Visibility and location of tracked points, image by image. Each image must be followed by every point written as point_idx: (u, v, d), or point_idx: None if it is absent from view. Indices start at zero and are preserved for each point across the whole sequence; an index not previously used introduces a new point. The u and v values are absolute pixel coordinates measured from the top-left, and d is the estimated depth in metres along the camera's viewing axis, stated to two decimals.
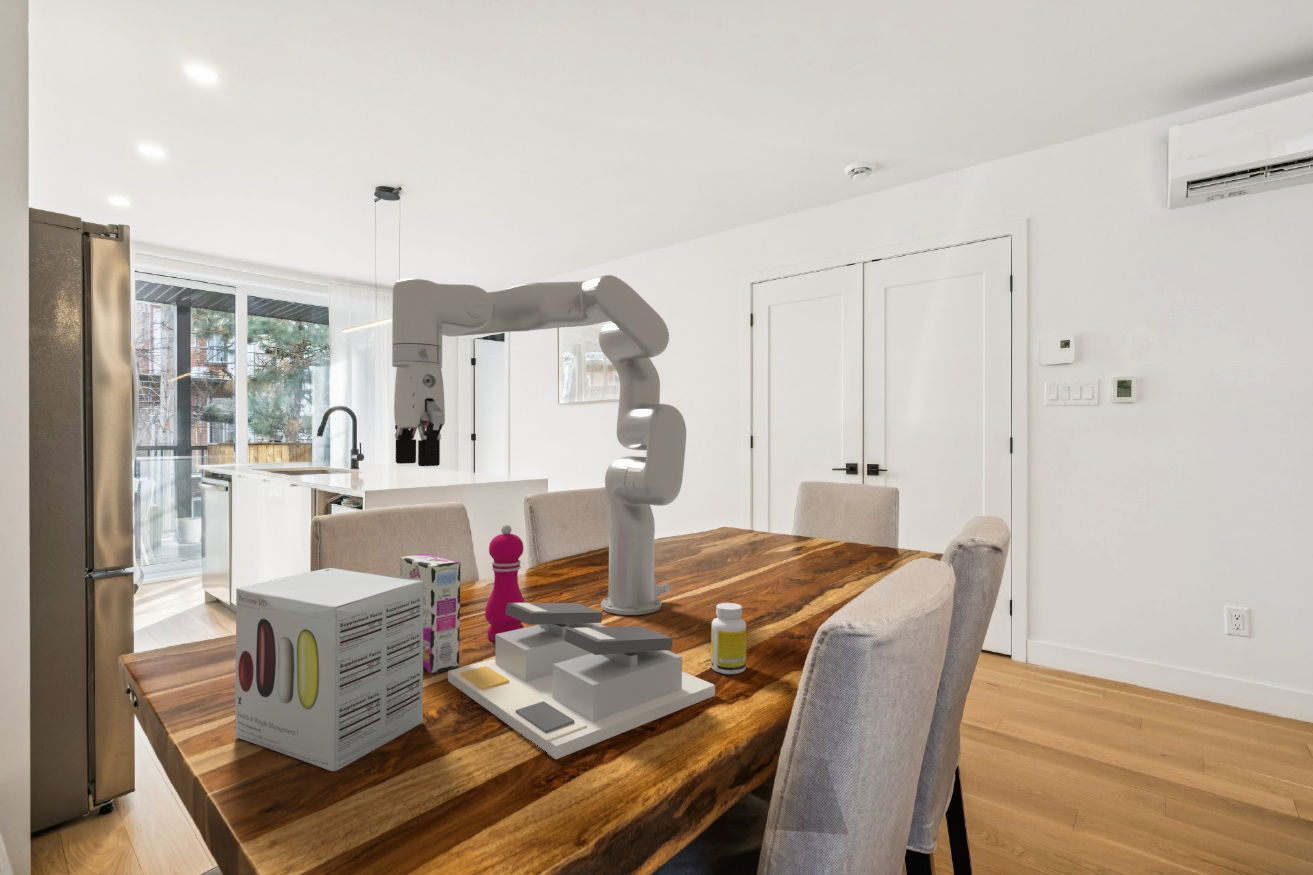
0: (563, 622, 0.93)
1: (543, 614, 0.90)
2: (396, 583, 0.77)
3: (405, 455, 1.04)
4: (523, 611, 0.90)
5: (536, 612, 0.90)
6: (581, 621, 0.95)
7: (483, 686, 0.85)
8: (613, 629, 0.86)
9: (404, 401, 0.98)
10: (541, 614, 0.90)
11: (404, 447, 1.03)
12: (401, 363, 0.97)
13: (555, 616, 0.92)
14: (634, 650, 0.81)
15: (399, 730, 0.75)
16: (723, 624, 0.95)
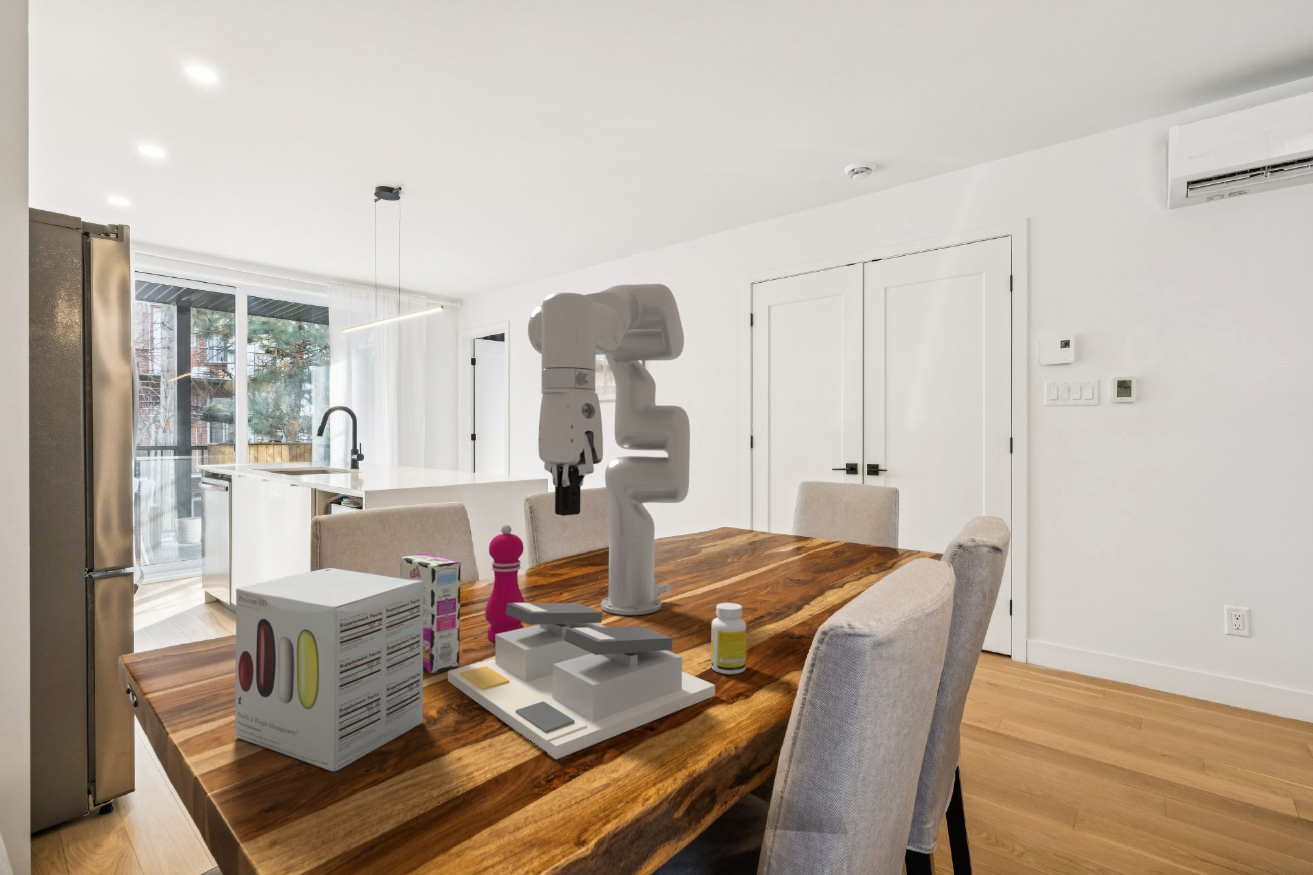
0: (563, 622, 0.93)
1: (543, 614, 0.90)
2: (396, 583, 0.77)
3: None
4: (523, 611, 0.90)
5: (536, 612, 0.90)
6: (581, 621, 0.95)
7: (483, 686, 0.85)
8: (613, 629, 0.86)
9: (557, 434, 0.85)
10: (541, 614, 0.90)
11: None
12: (556, 390, 0.84)
13: (555, 616, 0.92)
14: (634, 650, 0.81)
15: (399, 730, 0.75)
16: (722, 624, 0.95)
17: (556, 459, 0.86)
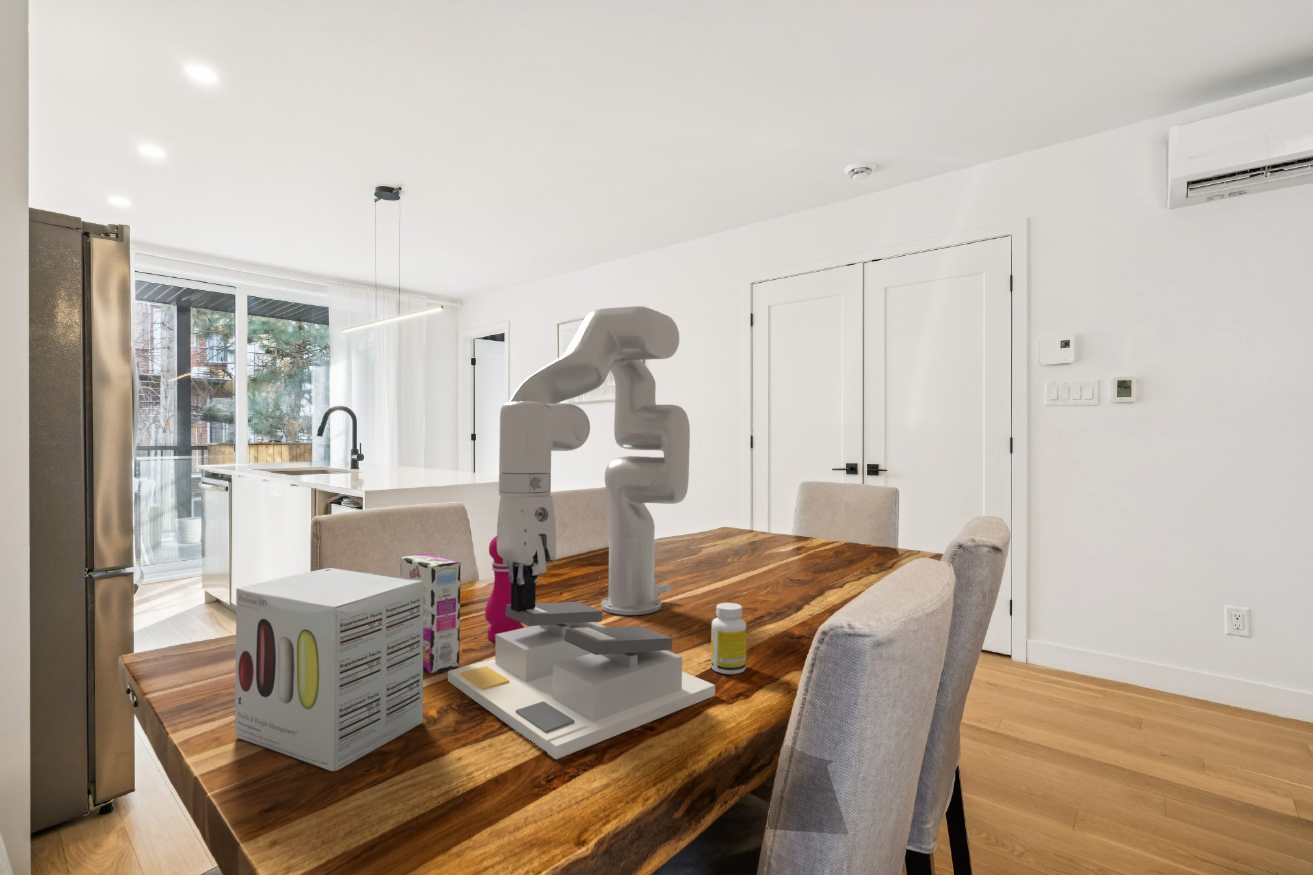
0: (563, 622, 0.93)
1: (543, 615, 0.90)
2: (396, 583, 0.77)
3: None
4: (523, 612, 0.90)
5: (536, 613, 0.90)
6: (581, 620, 0.95)
7: (483, 686, 0.85)
8: (613, 629, 0.86)
9: (512, 535, 0.90)
10: (541, 615, 0.90)
11: None
12: (511, 495, 0.89)
13: (555, 616, 0.92)
14: (634, 650, 0.81)
15: (399, 730, 0.75)
16: (723, 624, 0.95)
17: (512, 558, 0.90)
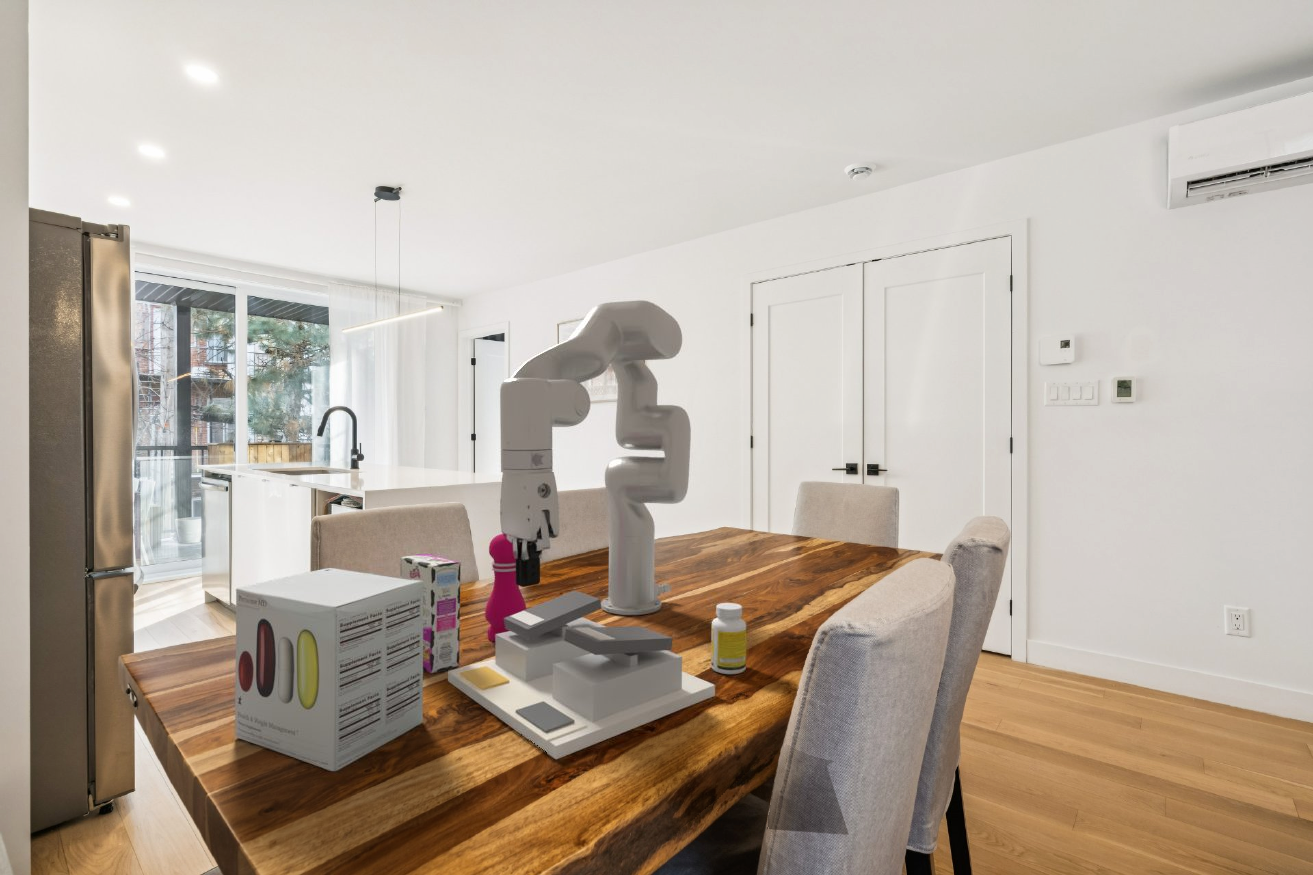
0: (563, 624, 0.93)
1: (540, 625, 0.90)
2: (396, 583, 0.77)
3: None
4: (520, 627, 0.90)
5: (533, 625, 0.90)
6: (581, 615, 0.95)
7: (483, 686, 0.85)
8: (613, 629, 0.86)
9: (516, 511, 0.90)
10: (538, 626, 0.90)
11: None
12: (513, 472, 0.89)
13: (553, 621, 0.92)
14: (634, 650, 0.81)
15: (399, 730, 0.75)
16: (723, 624, 0.95)
17: (515, 534, 0.91)
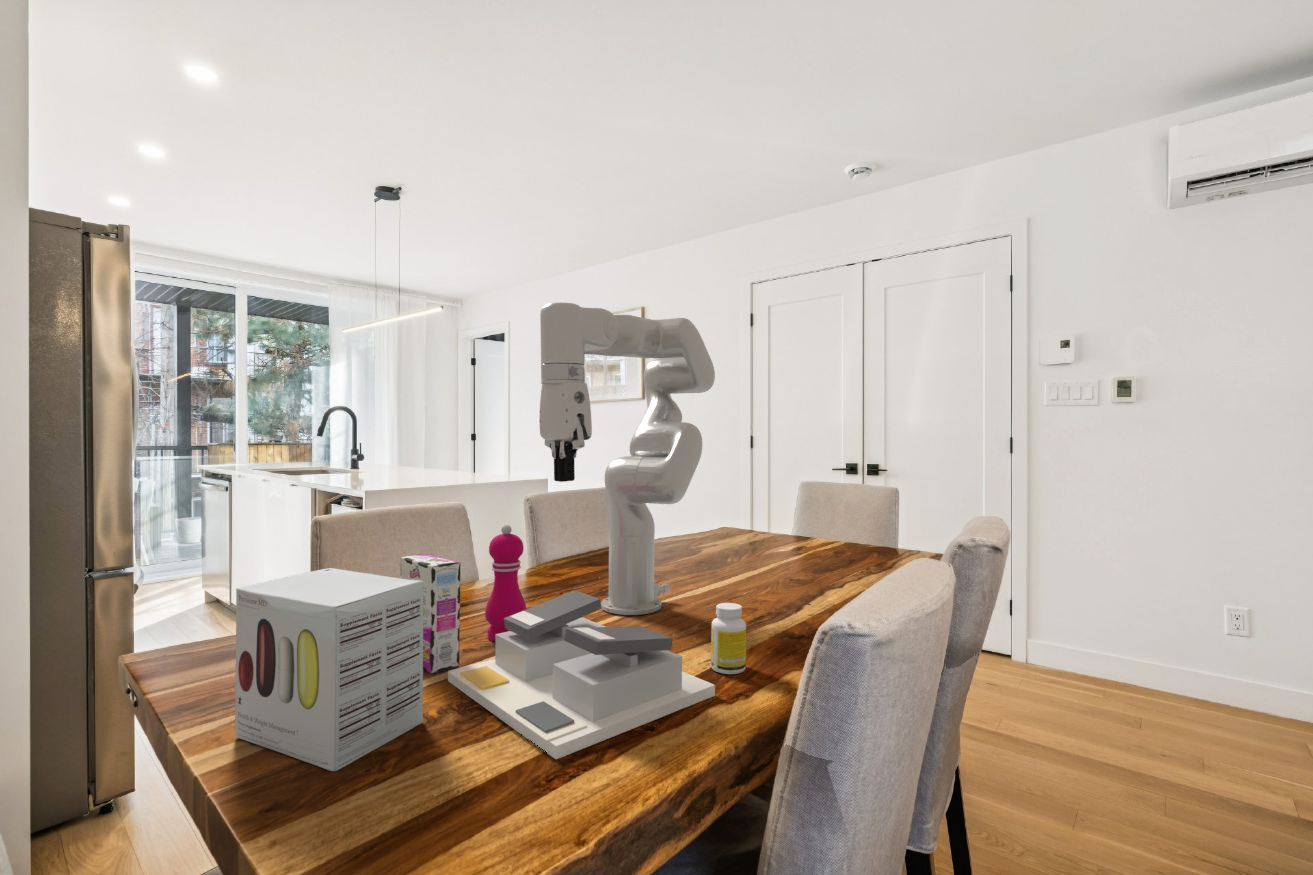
0: (563, 624, 0.93)
1: (540, 625, 0.90)
2: (396, 583, 0.77)
3: None
4: (520, 627, 0.90)
5: (533, 625, 0.90)
6: (581, 615, 0.95)
7: (483, 686, 0.85)
8: (613, 629, 0.86)
9: (555, 416, 1.06)
10: (538, 626, 0.90)
11: None
12: (553, 381, 1.05)
13: (553, 621, 0.92)
14: (634, 650, 0.81)
15: (399, 730, 0.75)
16: (722, 624, 0.95)
17: (554, 436, 1.07)
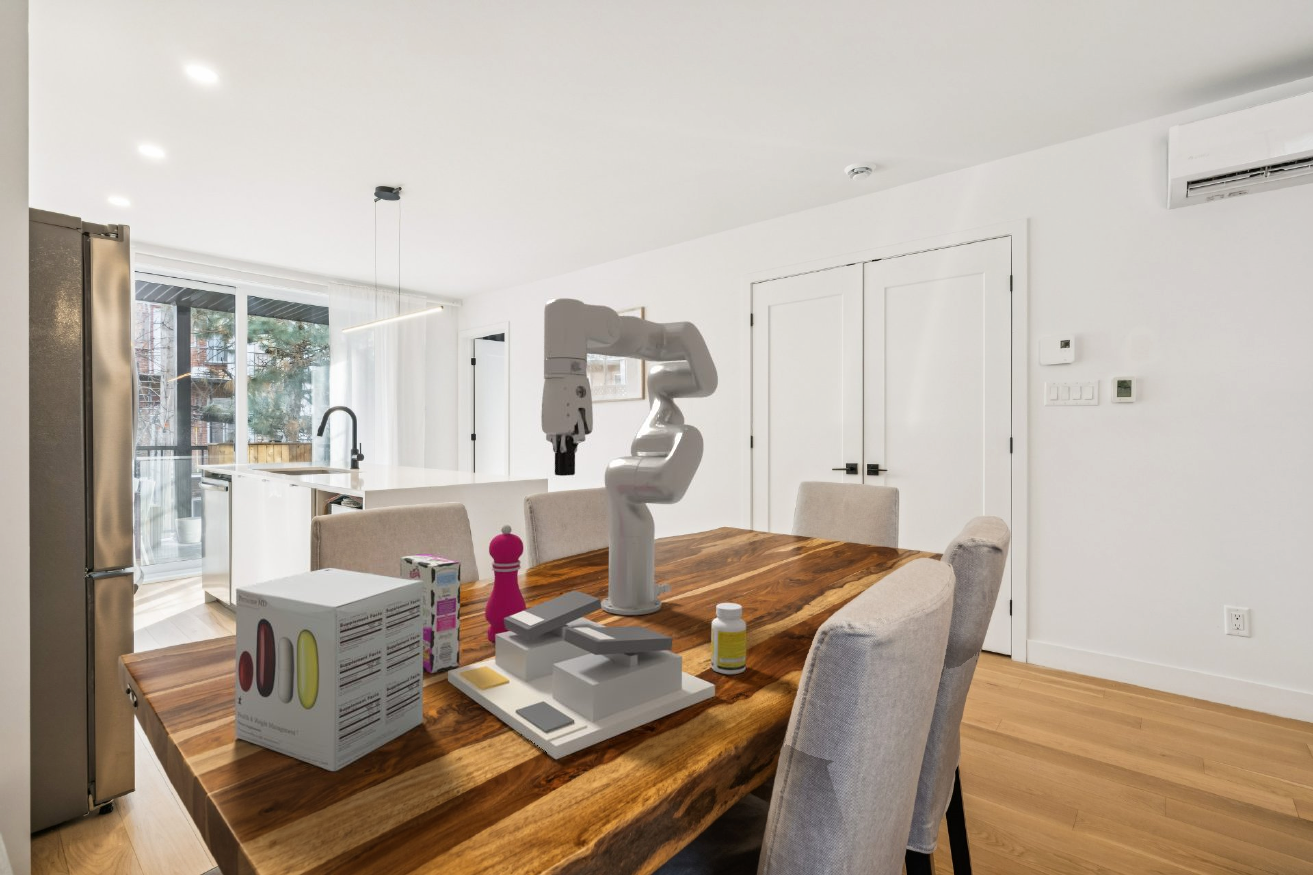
0: (563, 624, 0.93)
1: (540, 625, 0.90)
2: (396, 583, 0.77)
3: None
4: (520, 627, 0.90)
5: (533, 625, 0.90)
6: (581, 615, 0.95)
7: (483, 686, 0.85)
8: (613, 629, 0.86)
9: (556, 410, 1.07)
10: (538, 626, 0.90)
11: None
12: (555, 376, 1.06)
13: (553, 621, 0.92)
14: (634, 650, 0.81)
15: (399, 730, 0.75)
16: (723, 624, 0.95)
17: (555, 430, 1.08)
